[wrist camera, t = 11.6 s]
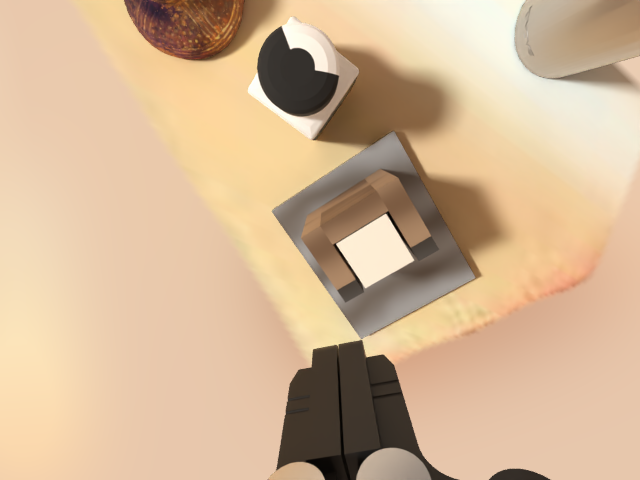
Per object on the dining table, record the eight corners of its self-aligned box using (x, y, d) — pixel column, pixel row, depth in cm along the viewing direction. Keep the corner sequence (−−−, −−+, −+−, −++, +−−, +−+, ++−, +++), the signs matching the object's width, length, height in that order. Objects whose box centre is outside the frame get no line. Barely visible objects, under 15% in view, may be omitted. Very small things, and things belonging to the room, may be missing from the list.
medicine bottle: (315, 141, 36) (309, 141, 24) (261, 101, 35) (228, 80, 23) (354, 84, 34) (368, 54, 22) (299, 39, 33) (283, -16, 21)
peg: (394, 233, 37) (414, 260, 28) (356, 255, 38) (365, 288, 29) (372, 196, 36) (386, 213, 27) (334, 220, 37) (336, 244, 28)
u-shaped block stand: (471, 274, 40) (519, 318, 30) (360, 333, 43) (370, 392, 32) (391, 131, 35) (417, 126, 25) (273, 209, 38) (253, 232, 28)
